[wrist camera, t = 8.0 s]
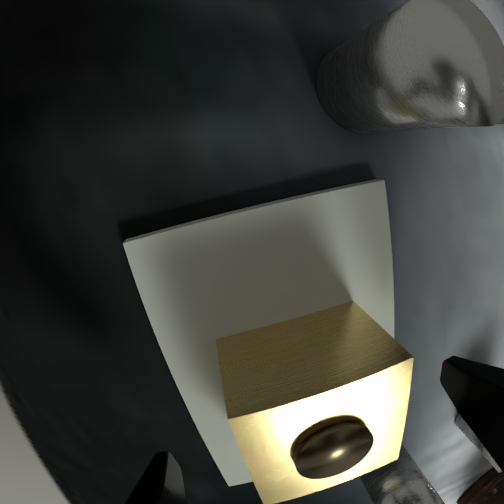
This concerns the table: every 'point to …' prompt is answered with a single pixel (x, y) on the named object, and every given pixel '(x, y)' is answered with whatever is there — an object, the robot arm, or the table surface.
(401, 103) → the spacers
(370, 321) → the nut
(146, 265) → the mat
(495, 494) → the mortar and pestle
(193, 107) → the table surface
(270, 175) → the table surface
